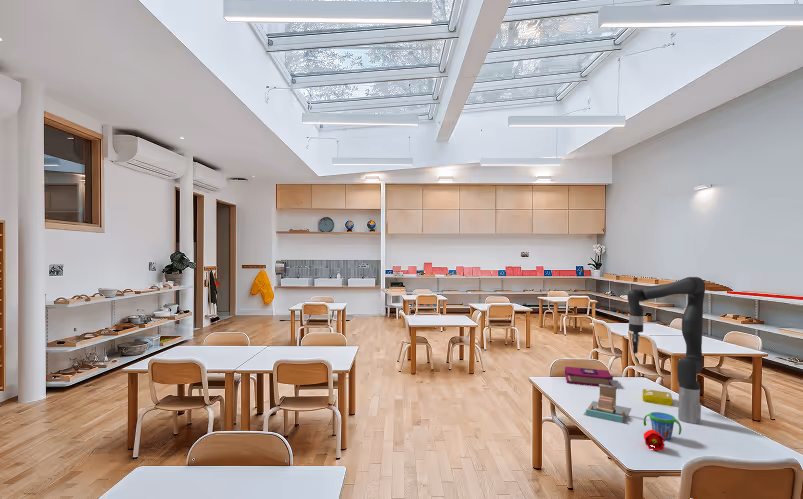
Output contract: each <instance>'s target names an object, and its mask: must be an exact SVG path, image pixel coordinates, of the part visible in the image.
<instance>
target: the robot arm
mask: <svg viewBox="0 0 803 499" xmlns="http://www.w3.org/2000/svg"><path fill="white" fill-rule="evenodd" d="M705 292H706V284H705V281H704V279H703V278H701V277H698V276H688V277H684V278H682V279H678V280H676V281H674V282H669V283H664V284H663V283H662V284H657V285H653V286H647V287H645V288H644V287H643V288H638V289H637V288H634V289H629V291H628V293H627V301H628V306H629V307H628V308H629V317H628V331H629V332H632V334H631V342H632V348H633V349H632V350H633V351H632V353H633V354H638V351H639V350H638V349H639V345H640V344H639V343H640V338H641V335H640V334H639V333H643V332H644V307H643V306H642V305H640V304H641V303H640V302H642V301H643V302H644V301H647V300H648V301H649V300H656V299H660V298H665V297H669V296H673V295H688V296H687V297H688V298H687V305H686V308H685V310H684V312H683V314H682V318H681V334H682V336H683V340H684V342H685V347H686V348H685V349H686V351H685V357H681V358H680V359H678V361H677V367H676V368H677V370H676V372H677V377H676V378H677V382H678V410H677V412H678V413H677V418H678V419H677V420H680V421H682V422H685V423H691V424H699V423H700V422H701V420H702V419H701V418H702V415H701V414H702V413H701V412H702V403H700V398H701V396H700V393H701V384H700V382H699V381H698V379H697V376H698V375H697V374H700V373H701V372H702V370H703V367H704V362H703V361H704V360H703V353H702V352H703V351H702V347H703V345H702V344H703V329H704V328H703V325H704V324H703V322H704V321H703V314H704V313H703V312H704V299H705Z"/></svg>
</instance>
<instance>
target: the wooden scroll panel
mask: <svg viewBox="0 0 803 499" xmlns="http://www.w3.org/2000/svg"><path fill="white" fill-rule="evenodd" d="M598 387H599V397H598V399H597V400H598V401H597V402H598V406H597V407H596V411H600V412H602V411H603V412H608V413H610V414H614V413H615V412H616V410H615V408H616V405H617V390H618V386H614V385H612V386H608V385H603V384H599V386H598Z"/></svg>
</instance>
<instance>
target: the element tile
mask: <svg viewBox="0 0 803 499" xmlns="http://www.w3.org/2000/svg"><path fill="white" fill-rule="evenodd" d="M642 401H643V402H644V403H647V404H654V405H659V406H660V405H661V406H666V407H667V406H668V407H673V397H672V393H670V392H667V391H661V390H653V389H648V388H644V389H642Z"/></svg>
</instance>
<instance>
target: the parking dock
mask: <svg viewBox="0 0 803 499" xmlns="http://www.w3.org/2000/svg"><path fill="white" fill-rule="evenodd" d="M597 406H598V401H595V400H592V402H591V403H590V404H589V406H588V407H587V408H586V410H585V412H584V413H583V416H586V417H592V418H596V419H601V420H604V421H610V422H614V423H618V424H619V423H620V424H624V425H625V424H626V422H627V420H628V417H629V415H630V412H631V410H632V408H631V407H627V406H620V405H617V404H616V408H615V410H616V412H615V413H614V414H610V413H608V412H603V411H602V412H600V411H596V407H597Z"/></svg>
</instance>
